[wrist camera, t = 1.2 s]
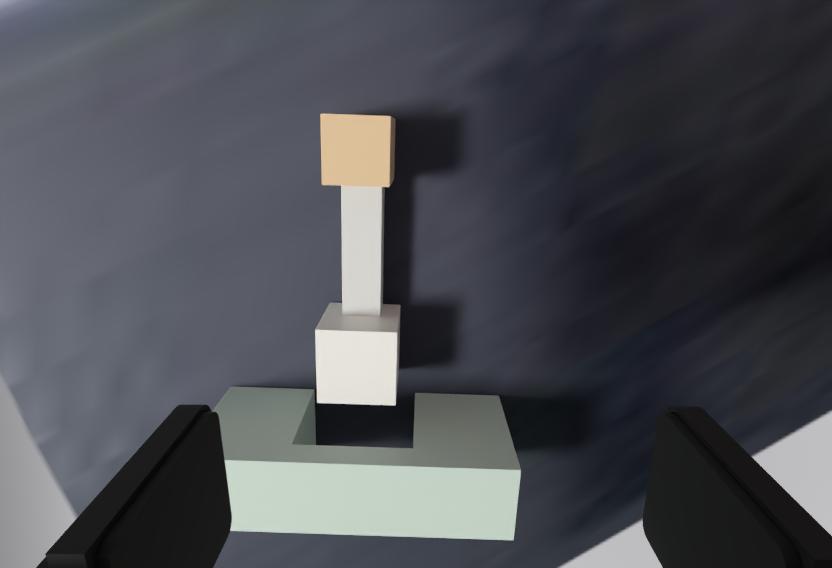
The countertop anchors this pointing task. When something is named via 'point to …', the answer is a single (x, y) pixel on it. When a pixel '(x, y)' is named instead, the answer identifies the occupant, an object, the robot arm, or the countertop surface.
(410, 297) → the countertop surface
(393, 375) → the plug
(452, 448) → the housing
